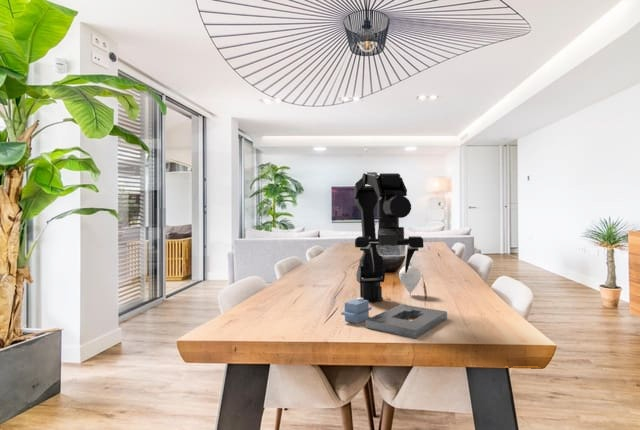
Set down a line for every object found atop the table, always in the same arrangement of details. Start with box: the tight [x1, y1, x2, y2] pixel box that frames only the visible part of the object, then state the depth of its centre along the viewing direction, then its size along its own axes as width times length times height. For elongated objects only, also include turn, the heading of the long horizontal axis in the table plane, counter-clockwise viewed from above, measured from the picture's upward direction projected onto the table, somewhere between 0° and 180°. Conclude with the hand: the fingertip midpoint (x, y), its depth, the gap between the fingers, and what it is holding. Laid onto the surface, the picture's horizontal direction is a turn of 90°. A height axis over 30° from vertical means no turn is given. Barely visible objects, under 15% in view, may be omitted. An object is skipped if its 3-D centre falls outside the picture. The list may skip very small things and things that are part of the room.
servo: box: [340, 297, 373, 324], centre depth 103 cm, size 4×10×6 cm, turn 141°
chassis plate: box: [365, 303, 448, 339], centre depth 99 cm, size 20×14×2 cm
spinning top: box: [398, 260, 422, 296], centre depth 132 cm, size 8×8×12 cm
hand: (389, 272), depth 105 cm, fingers open, 9 cm apart
